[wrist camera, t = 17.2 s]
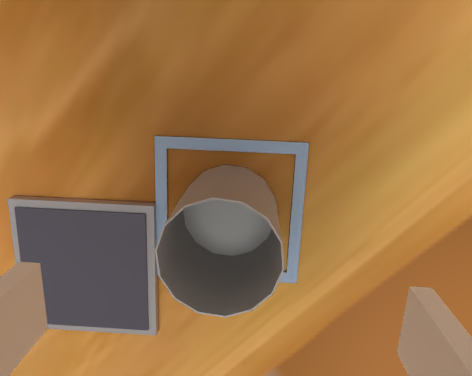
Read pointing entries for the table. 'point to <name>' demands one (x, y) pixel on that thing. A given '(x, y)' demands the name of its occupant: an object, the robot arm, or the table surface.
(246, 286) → the cup
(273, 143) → the marked square
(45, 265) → the pad
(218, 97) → the table surface
